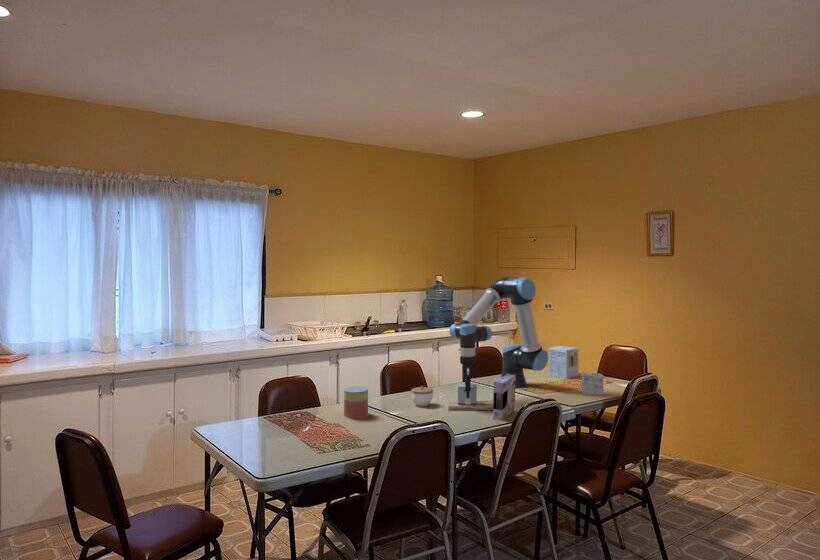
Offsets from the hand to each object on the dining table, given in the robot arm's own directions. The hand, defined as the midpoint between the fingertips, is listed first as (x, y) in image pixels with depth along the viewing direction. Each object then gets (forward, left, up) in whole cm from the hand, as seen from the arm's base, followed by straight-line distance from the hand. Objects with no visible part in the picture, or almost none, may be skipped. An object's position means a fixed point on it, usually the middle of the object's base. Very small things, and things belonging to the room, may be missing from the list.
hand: (467, 402), depth 284 cm
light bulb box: (-31, +67, -2) cm, 74 cm away
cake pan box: (+14, +16, -2) cm, 22 cm away
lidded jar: (-3, -23, -2) cm, 23 cm away
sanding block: (0, 0, -1) cm, 1 cm away
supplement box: (-78, +61, -2) cm, 99 cm away
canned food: (+17, -53, -2) cm, 55 cm away
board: (0, +3, -2) cm, 4 cm away
